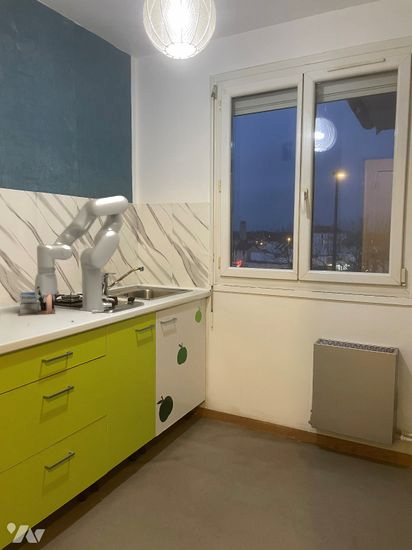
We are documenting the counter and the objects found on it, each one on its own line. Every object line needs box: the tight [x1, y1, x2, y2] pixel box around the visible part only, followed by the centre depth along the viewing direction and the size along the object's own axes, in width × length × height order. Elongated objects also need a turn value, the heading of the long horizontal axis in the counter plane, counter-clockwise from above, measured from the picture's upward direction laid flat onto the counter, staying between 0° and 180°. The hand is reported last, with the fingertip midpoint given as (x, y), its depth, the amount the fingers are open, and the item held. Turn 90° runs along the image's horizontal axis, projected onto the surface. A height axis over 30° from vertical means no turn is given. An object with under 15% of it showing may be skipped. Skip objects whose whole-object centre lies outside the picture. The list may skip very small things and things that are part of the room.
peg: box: [43, 294, 52, 315], centre depth 192 cm, size 4×4×10 cm
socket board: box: [17, 301, 56, 317], centre depth 195 cm, size 16×14×5 cm
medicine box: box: [19, 291, 38, 303], centre depth 210 cm, size 8×4×9 cm, turn 112°
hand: (47, 309), depth 192 cm, fingers closed on peg, 4 cm apart
